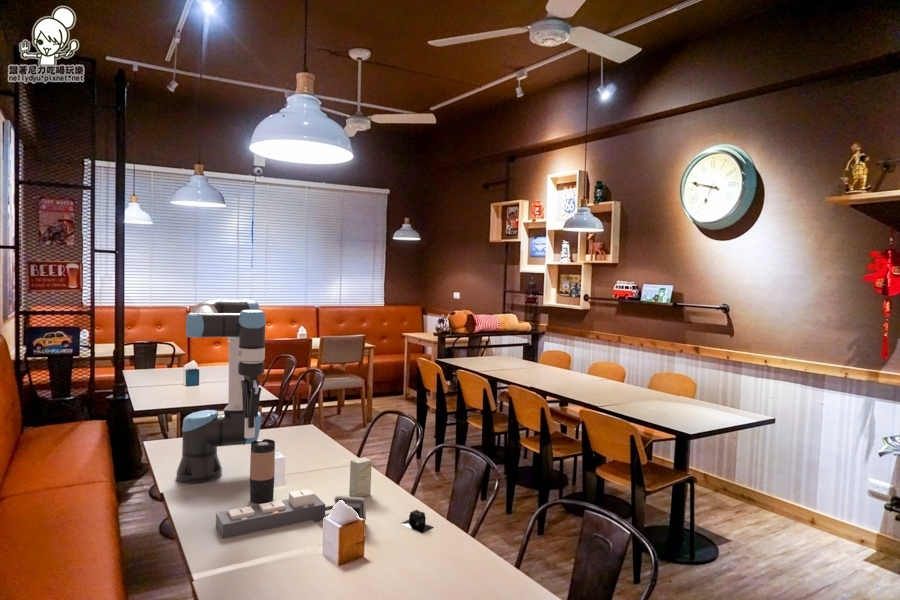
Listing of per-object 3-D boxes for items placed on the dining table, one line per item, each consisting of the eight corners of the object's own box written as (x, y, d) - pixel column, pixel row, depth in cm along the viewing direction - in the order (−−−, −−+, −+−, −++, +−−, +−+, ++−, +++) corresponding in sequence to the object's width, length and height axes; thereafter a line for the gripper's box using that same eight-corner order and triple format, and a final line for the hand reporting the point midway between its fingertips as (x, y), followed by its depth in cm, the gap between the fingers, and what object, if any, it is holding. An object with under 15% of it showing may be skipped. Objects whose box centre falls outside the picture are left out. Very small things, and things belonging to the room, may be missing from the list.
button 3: (288, 508, 179) (289, 492, 179) (308, 504, 182) (309, 488, 182) (293, 513, 175) (293, 497, 175) (313, 509, 179) (314, 493, 178)
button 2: (259, 520, 174) (259, 504, 174) (280, 516, 177) (280, 500, 177) (263, 526, 170) (263, 509, 170) (284, 521, 174) (285, 505, 174)
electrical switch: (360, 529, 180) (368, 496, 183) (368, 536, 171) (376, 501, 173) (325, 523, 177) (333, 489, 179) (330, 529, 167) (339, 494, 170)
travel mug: (266, 508, 185) (267, 446, 184) (244, 505, 187) (246, 444, 186) (278, 499, 193) (279, 440, 192) (257, 496, 194) (258, 437, 193)
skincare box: (356, 498, 196) (357, 463, 195) (348, 494, 199) (349, 460, 198) (371, 494, 200) (372, 459, 200) (363, 490, 203) (364, 456, 203)
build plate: (439, 530, 176) (440, 515, 176) (423, 538, 170) (424, 522, 170) (410, 517, 184) (410, 503, 184) (393, 524, 178) (394, 510, 178)
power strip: (215, 529, 169) (216, 512, 169) (330, 506, 189) (331, 490, 189) (222, 542, 162) (223, 523, 162) (341, 516, 181) (342, 500, 181)
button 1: (227, 527, 169) (228, 510, 169) (250, 522, 172) (250, 505, 172) (231, 533, 165) (231, 515, 165) (254, 528, 169) (254, 511, 169)
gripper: (233, 358, 179) (231, 432, 180) (244, 366, 168) (242, 445, 170) (257, 356, 183) (255, 429, 185) (270, 364, 172) (268, 441, 174)
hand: (249, 437), depth 177 cm, fingers closed
